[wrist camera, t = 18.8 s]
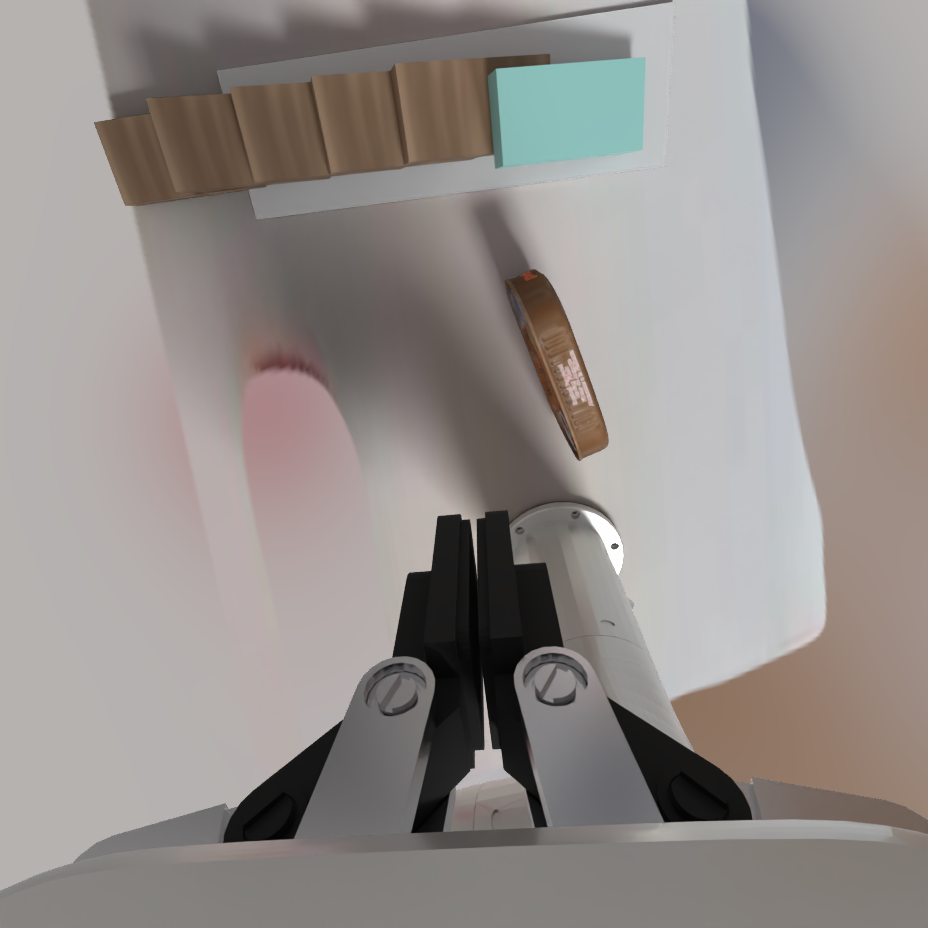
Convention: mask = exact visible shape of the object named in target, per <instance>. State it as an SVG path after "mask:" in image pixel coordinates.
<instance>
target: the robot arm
mask: <svg viewBox="0 0 928 928" xmlns="http://www.w3.org/2000/svg"><path fill="white" fill-rule="evenodd" d="M574 511H575V512H574ZM623 557H624V553H623V544H622V541H621V538H620V536H619V534H618V532H617V530H616V528H615V526H614V525H613V524H612V522H611V521H610V520H609V519H608V518H607V517H606V516H604V515H603V514H602V513H601V512H599V511H597V510H595V509H593V508H591V507H589V506H585V505H582V504H578V503H570V502H556V503H550V504H545V505H541V506H538V507H535V508H533V509H530V510H528V511H527V512H525V513H523V514H522V515H520V516H519V517H518V518H516V519H515V520H514V521H513V522H512V523H511V524H510V525H509V518H508V510H505V511H493V512H485V518H481V519H477V572H478V581H477V573H476V564H475V556H474V548H473V539H472V531H471V523H470V519H469V520H462V518H461V514H457V515H445V516H438V518H437V526H436V535H435V544H434V553H433V561H432V570H431V571H426V572H413V573H409V574H408V576H407V580H406V585H405V591H404V596H403V602H402V607H401V613H400V618H399V624H398V629H397V635H396V640H395V646H394V651H393V657H392V658H390V659H387V660H384V661H382V662H380V663H378V664H377V665H375V666H373V667H372V668H371V669H370V670H369V671H368V672H367V673H366V674H365V675H364V676H363V677H362V679H361V681H360V682H359V684H358V686H357V688H356V691H355V693H354V695H353V698H352V700H351V702H350V705H349V707H348V710H347V712H346V715H345V717H344V719H343V720H342V721H341V722H339V723H338V724H337V725H336V726H334V727H333V728H332V729H330V730H329V731H328V732H327V733H325V734H324V735H323V736H322V737H320V738H319V739H318V740H317V741H315V742H314V743H313V744H312V745H310V746H309V747H308V748H306V749H305V750H304V751H303V752H301V753H300V754H299V755H298V756H296V757H295V758H294V759H293V760H291V761H290V762H289V763H288V764H286V765H285V766H284V767H282V768H281V769H280V770H279V771H277V772H276V773H275V774H274V775H272V776H271V777H270V778H269V779H267V780H266V781H265V782H264V783H262V784H261V785H260V786H259V787H257V788H256V789H255V790H253V791H252V792H251V793H250V794H249V795H248V796H247V797H246V798H245V799H244V800H243V801H242V802H241V803H240V805H239V806H238V807H235V808H231V809H228V807H227V805H226V804H222V805H218V806H215V807H211V808H208V809H204V810H201V811H197V812H194V813H190V814H187V815H183V816H180V817H177V818H173V819H169V820H166V821H162V822H159V823H156V824H152V825H149V826H145V827H142V828H138V829H135V830H131V831H128V832H124V833H121V834H117V835H114V836H111V837H109V838H107V839H105V840H102V841H100V842H98V843H96V844H95V845H93V846H92V847H91V848H89V849H88V850H87V851H85V852H84V853H83V854H81V855H80V856H79V857H78V858H77V859H76V860H75V861H74V862H73V863H72V864H68V865H65V866H62V867H58V868H55V869H52V870H49V871H47V872H44V873H41V874H38V875H35V876H33V877H31V878H28V879H26V880H24V881H22V882H19V883H17V884H15V885H12V886H10V887H8V888H6V889H3V890H1V891H0V928H928V820H927V819H925V818H924V817H922V816H920V815H919V814H917V813H915V812H913V811H912V810H910V809H908V808H907V807H905V806H902V805H899V804H895V803H892V802H889V801H886V800H882V799H876V798H870V797H864V796H858V795H852V794H847V793H841V792H835V791H829V790H823V789H817V788H811V787H806V786H800V785H794V784H788V783H783V782H777V781H770V780H765V779H759V778H754V777H752V778H751V782H750V784H749V783H743V782H737V781H733V780H732V779H731V778H730V777H729V776H728V775H727V774H725V773H724V772H723V771H722V770H720V769H719V768H718V767H716V766H715V765H713V764H712V763H710V762H709V761H707V760H705V759H704V758H702V757H701V756H699V755H698V754H696V753H695V752H694V750H693V748H692V746H691V744H690V743H689V741H688V739H687V737H686V735H685V733H684V731H683V729H682V727H681V725H680V723H679V721H678V719H677V717H676V714H675V713H674V710H673V708H672V706H671V703H670V701H669V699H668V696H667V694H666V692H665V690H664V687H663V685H662V682H661V680H660V677H659V675H658V673H657V670H656V668H655V665H654V663H653V660H652V658H651V655H650V653H649V650H648V648H647V645H646V643H645V640H644V638H643V635H642V633H641V630H640V628H639V625H638V623H637V621H636V618H635V616H634V613H633V611H632V609H633V606H634V603H633V601H632V600H630V599H629V598H628V597H627V596H626V593H625V591H624V588H623V586H622V583H621V581H620V579H619V576H618V574H619V572H620V569H621V567H622V563H623ZM483 679H484V686H485V694H486V702H487V710H488V718H489V725H490V733H491V741H492V748H493V749H501V750H502V759H503V768H504V770H505V771H506V772H507V773H508V774H510V775H511V776H512V777H509V778H504V779H499V780H495V781H490V782H486V783H482V784H478V785H473V786H470V787H466V788H462V789H459V790H457V791H456V788H455V786H456V785H457V784H458V783H459V782H460V781H461V780H462V779H463V778H464V777H465V776H466V775H467V774H468V773H469V772H470V769H473V768H475V750H484V705H483Z"/></svg>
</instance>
